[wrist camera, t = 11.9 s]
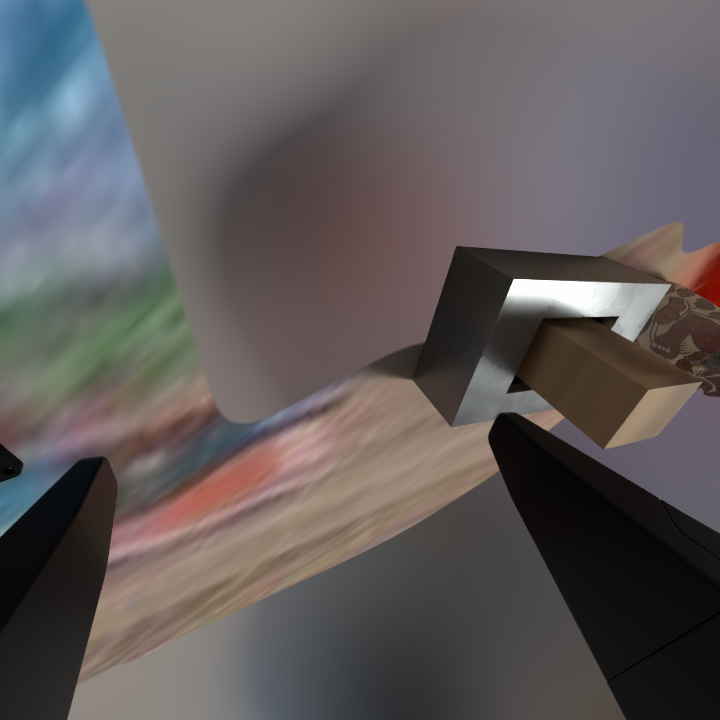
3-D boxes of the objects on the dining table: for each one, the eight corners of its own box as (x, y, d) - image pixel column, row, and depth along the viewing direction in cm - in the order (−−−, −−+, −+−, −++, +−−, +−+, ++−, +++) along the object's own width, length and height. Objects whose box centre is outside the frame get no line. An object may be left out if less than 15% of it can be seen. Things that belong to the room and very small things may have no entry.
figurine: (606, 309, 32) (774, 398, 23) (675, 262, 32) (868, 332, 23) (605, 360, 37) (743, 449, 28) (664, 319, 37) (822, 395, 28)
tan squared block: (476, 341, 28) (603, 449, 20) (497, 291, 26) (648, 389, 18) (524, 339, 30) (656, 436, 22) (547, 293, 28) (703, 381, 20)
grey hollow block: (413, 380, 28) (451, 427, 24) (456, 246, 22) (513, 279, 19) (546, 366, 33) (593, 402, 30) (605, 257, 28) (671, 284, 24)
